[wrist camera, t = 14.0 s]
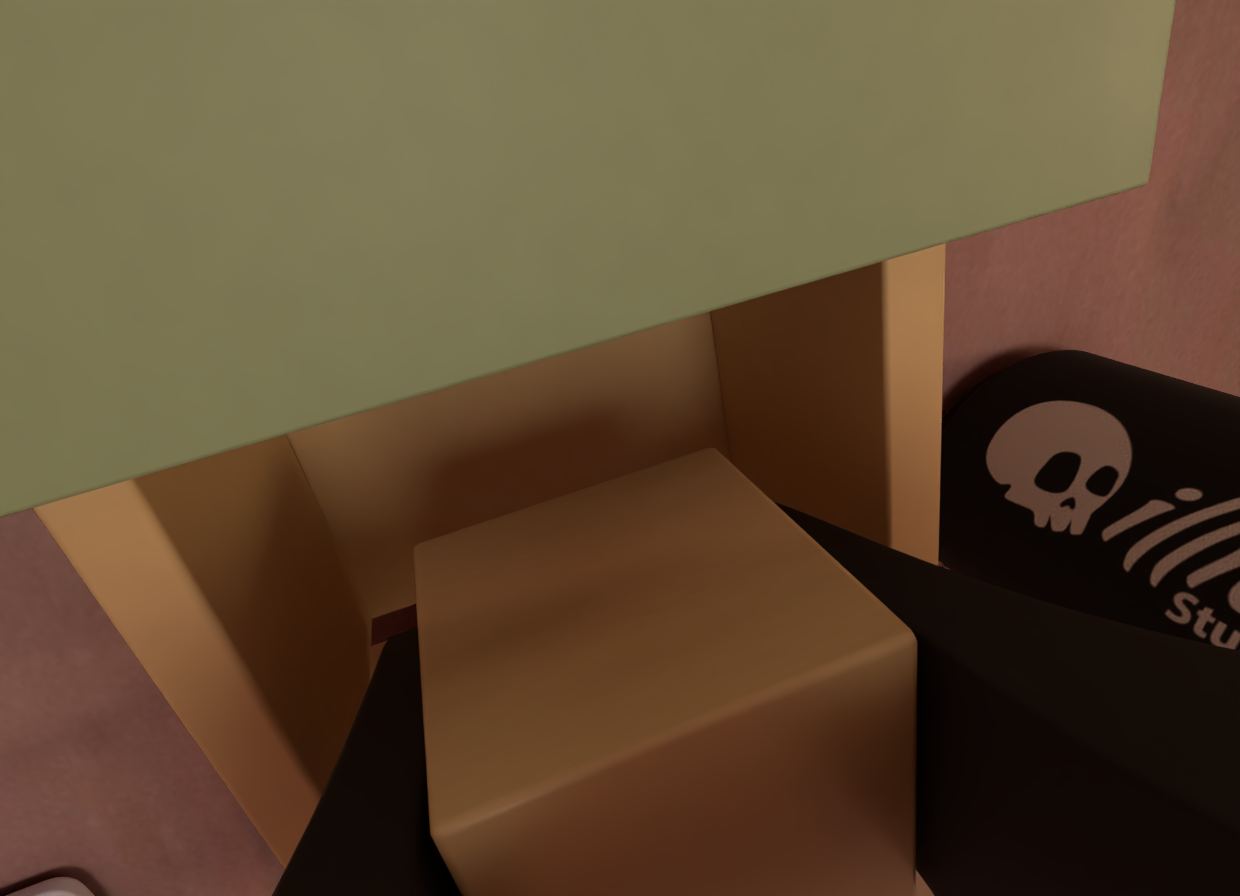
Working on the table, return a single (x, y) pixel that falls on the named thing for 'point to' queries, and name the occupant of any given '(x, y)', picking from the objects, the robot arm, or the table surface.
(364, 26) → the cabinet
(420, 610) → the block
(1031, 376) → the beverage can
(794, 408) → the drawer
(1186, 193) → the table surface
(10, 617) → the table surface
